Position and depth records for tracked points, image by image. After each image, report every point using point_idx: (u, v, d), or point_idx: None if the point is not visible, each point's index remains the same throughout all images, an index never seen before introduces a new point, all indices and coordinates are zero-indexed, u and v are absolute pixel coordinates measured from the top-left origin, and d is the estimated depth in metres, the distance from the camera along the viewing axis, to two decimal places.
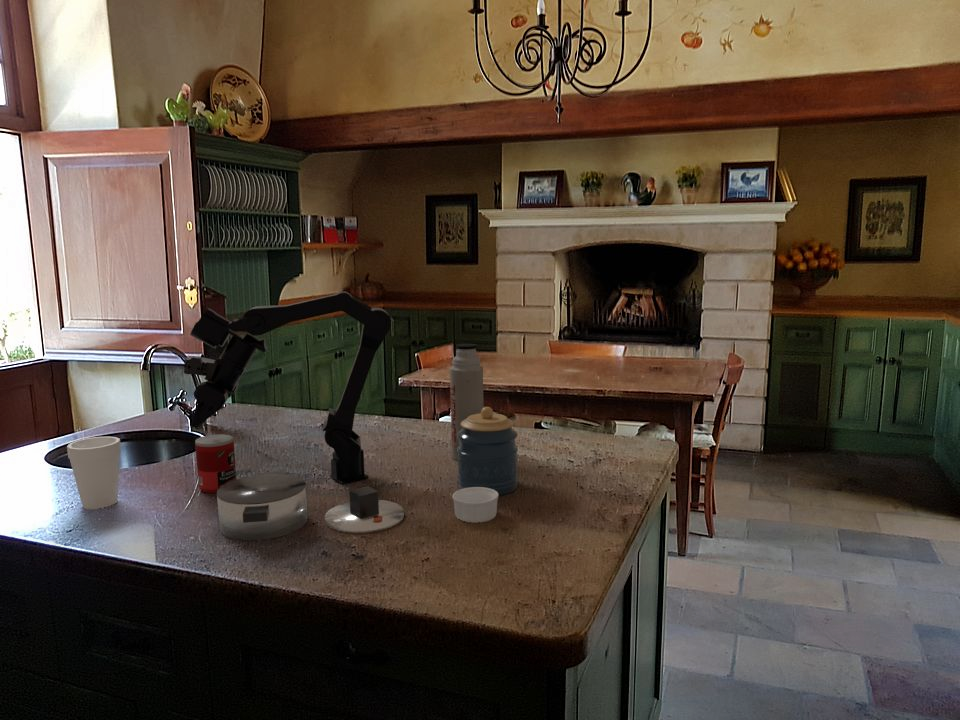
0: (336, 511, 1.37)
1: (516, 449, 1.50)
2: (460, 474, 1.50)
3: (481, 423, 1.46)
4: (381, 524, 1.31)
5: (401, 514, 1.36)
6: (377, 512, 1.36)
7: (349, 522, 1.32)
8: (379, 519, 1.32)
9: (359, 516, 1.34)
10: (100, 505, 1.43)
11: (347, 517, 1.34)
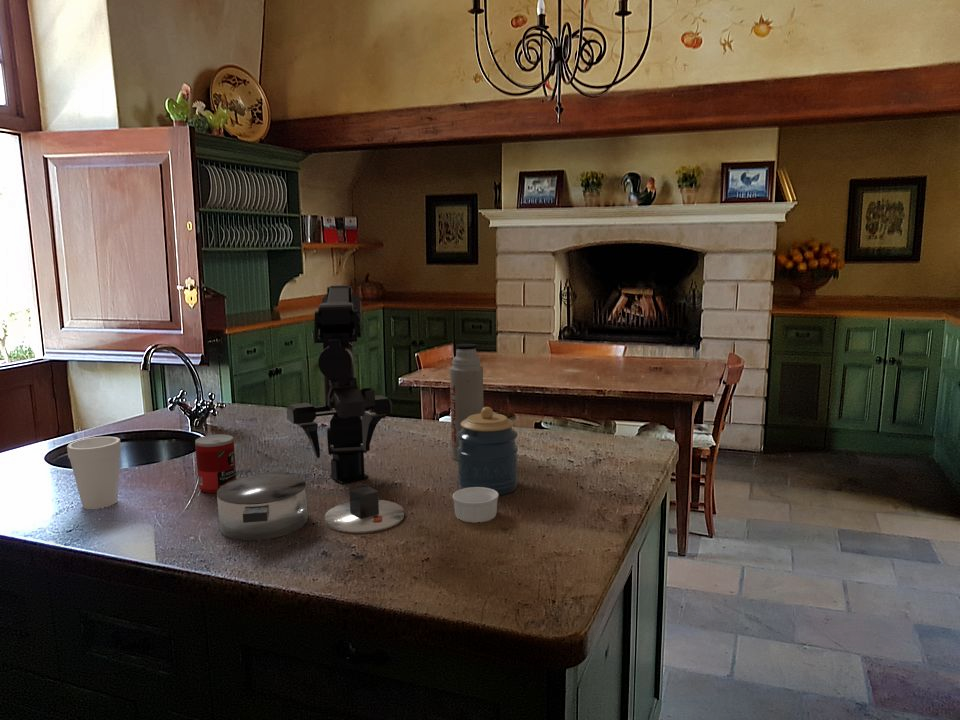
0: (336, 511, 1.37)
1: (516, 449, 1.50)
2: (460, 474, 1.50)
3: (481, 423, 1.46)
4: (381, 523, 1.31)
5: (401, 514, 1.36)
6: (377, 512, 1.36)
7: (349, 522, 1.32)
8: (379, 519, 1.32)
9: (359, 516, 1.34)
10: (100, 505, 1.43)
11: (347, 517, 1.34)
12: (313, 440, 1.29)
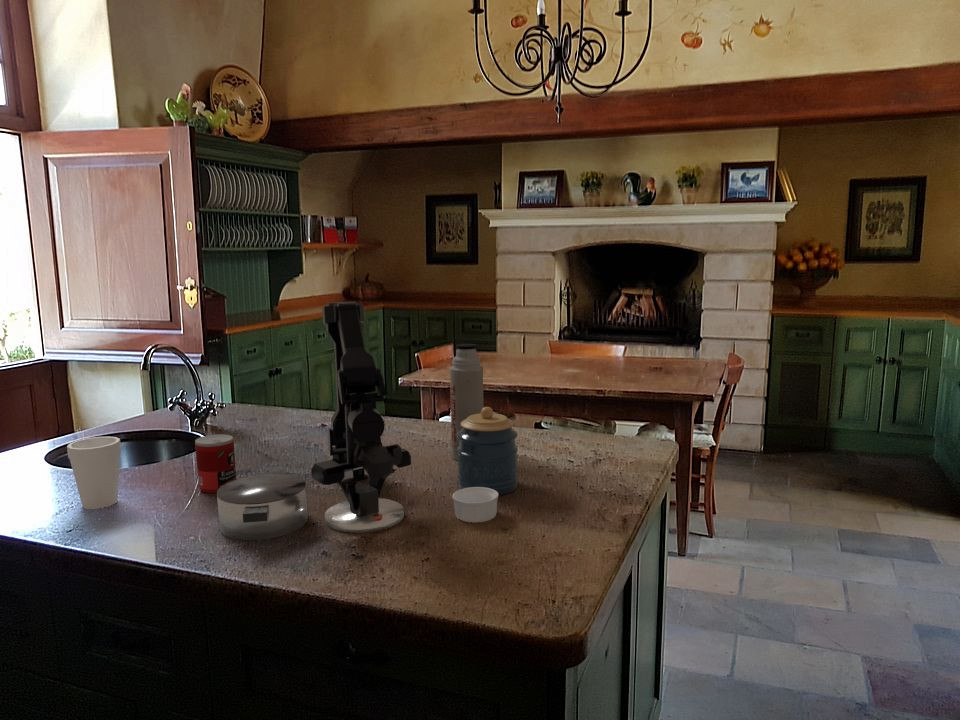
0: (336, 510, 1.37)
1: (516, 449, 1.50)
2: (460, 474, 1.50)
3: (481, 423, 1.46)
4: (381, 522, 1.31)
5: (401, 512, 1.36)
6: (377, 510, 1.36)
7: (349, 521, 1.32)
8: (379, 517, 1.32)
9: (359, 514, 1.34)
10: (100, 505, 1.43)
11: (347, 515, 1.34)
12: (351, 494, 1.33)
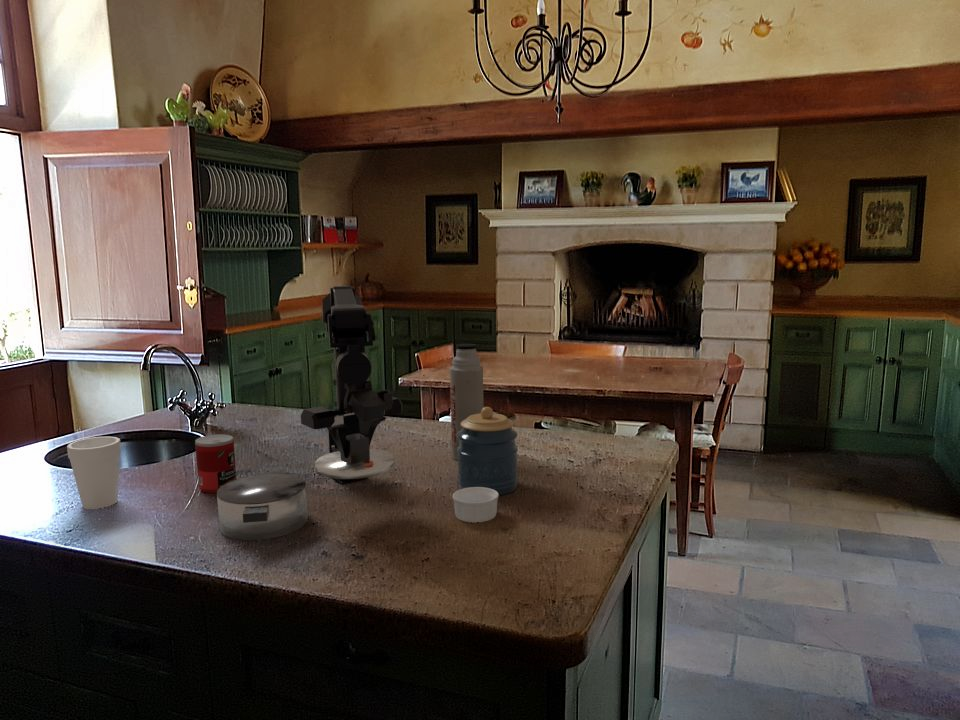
0: (326, 458, 1.36)
1: (516, 449, 1.50)
2: (460, 474, 1.50)
3: (481, 423, 1.46)
4: (372, 468, 1.29)
5: (392, 460, 1.34)
6: (368, 458, 1.34)
7: (340, 467, 1.30)
8: (370, 464, 1.30)
9: (350, 462, 1.32)
10: (100, 505, 1.43)
11: (338, 463, 1.33)
12: (342, 441, 1.31)
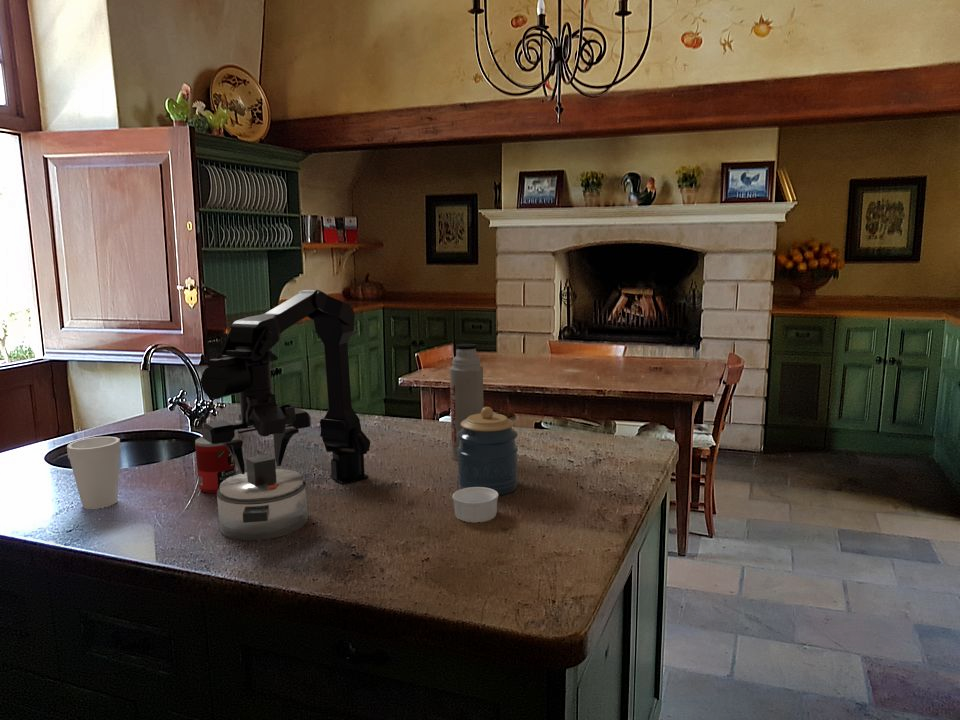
0: (233, 480, 1.34)
1: (516, 449, 1.50)
2: (460, 474, 1.50)
3: (481, 423, 1.46)
4: (275, 490, 1.28)
5: (299, 482, 1.32)
6: (274, 480, 1.33)
7: (242, 490, 1.29)
8: (273, 486, 1.29)
9: (254, 483, 1.31)
10: (100, 505, 1.43)
11: (243, 485, 1.31)
12: (238, 457, 1.28)
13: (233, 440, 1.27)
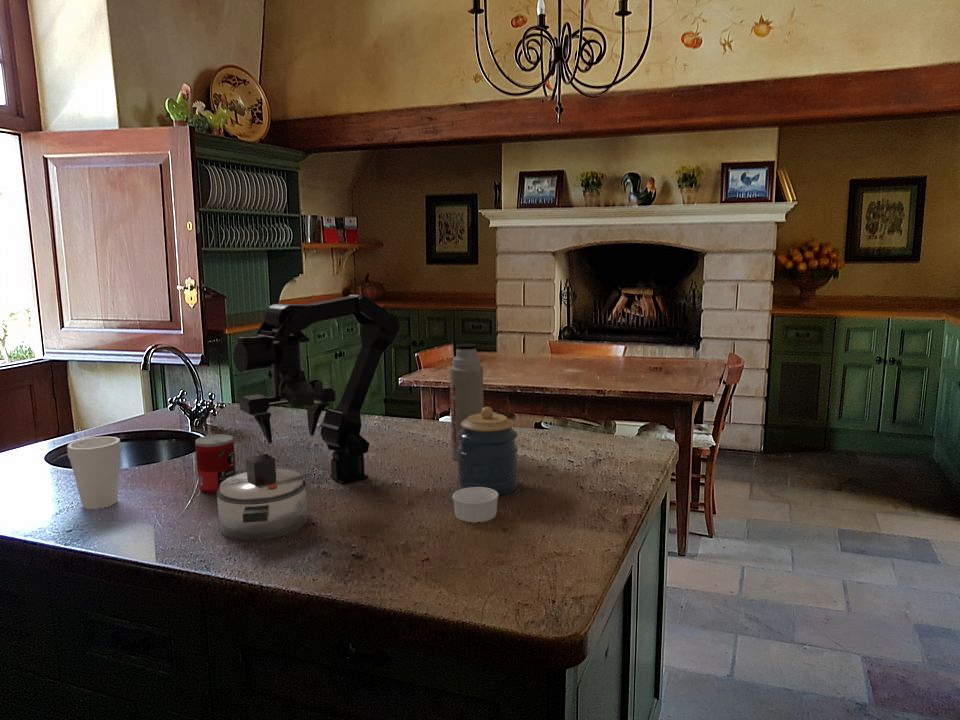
0: (233, 480, 1.34)
1: (516, 449, 1.50)
2: (460, 474, 1.50)
3: (481, 423, 1.46)
4: (275, 490, 1.28)
5: (299, 482, 1.32)
6: (274, 480, 1.33)
7: (243, 490, 1.29)
8: (273, 486, 1.29)
9: (254, 484, 1.31)
10: (100, 505, 1.43)
11: (243, 485, 1.31)
12: (266, 428, 1.43)
13: (262, 412, 1.41)
